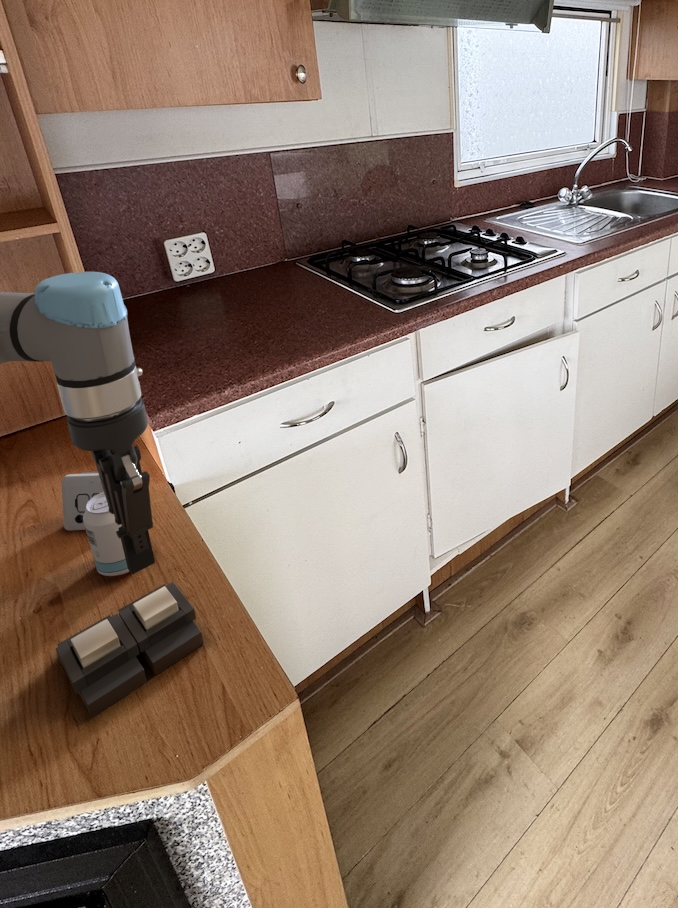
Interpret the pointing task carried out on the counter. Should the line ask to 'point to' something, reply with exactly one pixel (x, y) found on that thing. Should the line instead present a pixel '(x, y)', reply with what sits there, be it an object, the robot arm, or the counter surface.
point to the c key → (95, 643)
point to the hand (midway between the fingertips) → (141, 565)
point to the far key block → (165, 632)
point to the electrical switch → (78, 497)
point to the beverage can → (104, 537)
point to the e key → (155, 607)
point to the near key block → (104, 670)
